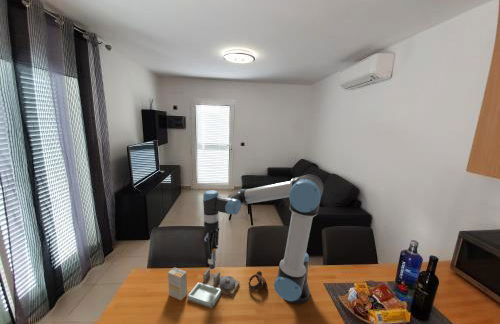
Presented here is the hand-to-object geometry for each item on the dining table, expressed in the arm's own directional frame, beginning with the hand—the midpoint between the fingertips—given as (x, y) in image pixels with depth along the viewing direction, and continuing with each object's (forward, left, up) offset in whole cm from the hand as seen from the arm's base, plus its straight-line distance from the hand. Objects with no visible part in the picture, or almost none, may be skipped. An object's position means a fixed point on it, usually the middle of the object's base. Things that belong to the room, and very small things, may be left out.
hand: (212, 261), depth 114 cm
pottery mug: (-24, -6, -13) cm, 28 cm away
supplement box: (+12, +13, -13) cm, 22 cm away
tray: (-1, +9, -13) cm, 16 cm away
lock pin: (0, 0, -3) cm, 3 cm away
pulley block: (-5, 0, -13) cm, 14 cm away
